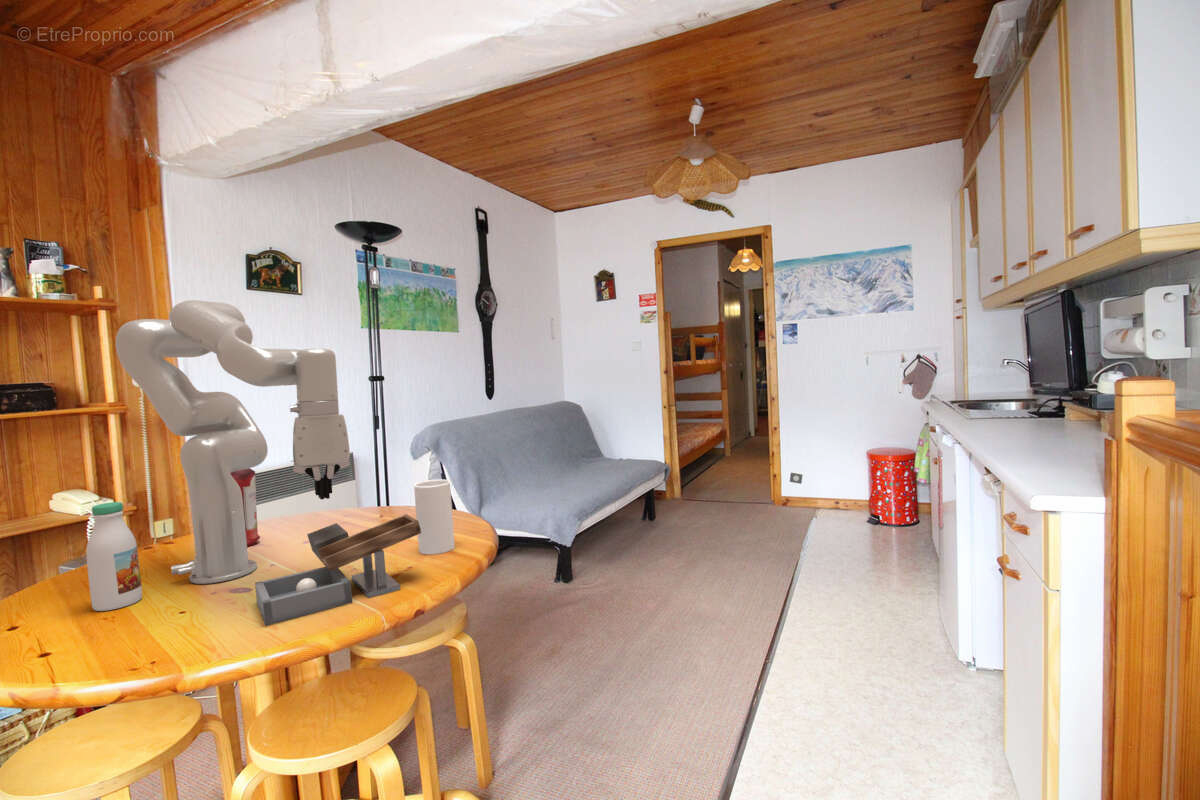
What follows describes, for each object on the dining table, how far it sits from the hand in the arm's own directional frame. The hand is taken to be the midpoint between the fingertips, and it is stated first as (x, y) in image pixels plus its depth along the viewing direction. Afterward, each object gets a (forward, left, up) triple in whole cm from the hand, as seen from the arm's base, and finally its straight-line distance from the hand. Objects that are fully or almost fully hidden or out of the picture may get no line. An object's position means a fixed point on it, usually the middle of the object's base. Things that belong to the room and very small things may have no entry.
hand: (324, 497), depth 121 cm
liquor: (-12, +47, -18) cm, 51 cm away
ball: (-6, -9, -15) cm, 18 cm away
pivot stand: (+6, -9, -18) cm, 21 cm away
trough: (+6, -4, -10) cm, 13 cm away
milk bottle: (-36, +18, -18) cm, 43 cm away
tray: (-7, -9, -18) cm, 21 cm away
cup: (+24, +5, -18) cm, 30 cm away
